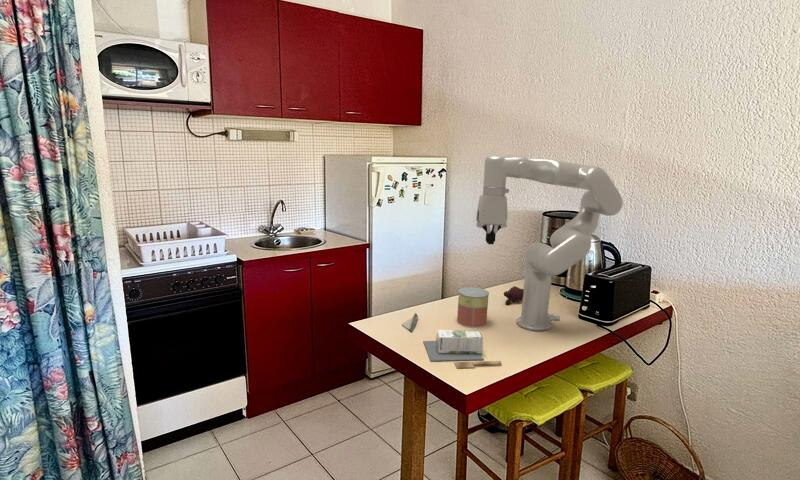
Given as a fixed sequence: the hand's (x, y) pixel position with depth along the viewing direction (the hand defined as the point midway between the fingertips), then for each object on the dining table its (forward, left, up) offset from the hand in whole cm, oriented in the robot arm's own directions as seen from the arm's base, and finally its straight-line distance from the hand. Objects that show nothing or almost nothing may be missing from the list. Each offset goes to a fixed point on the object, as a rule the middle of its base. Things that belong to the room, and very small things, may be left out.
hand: (490, 243), depth 161 cm
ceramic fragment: (+26, -4, -33) cm, 42 cm away
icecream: (-22, -27, -32) cm, 48 cm away
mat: (+16, +18, -32) cm, 40 cm away
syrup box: (+7, +19, -29) cm, 35 cm away
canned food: (+3, -6, -32) cm, 33 cm away
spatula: (+10, +28, -32) cm, 44 cm away
